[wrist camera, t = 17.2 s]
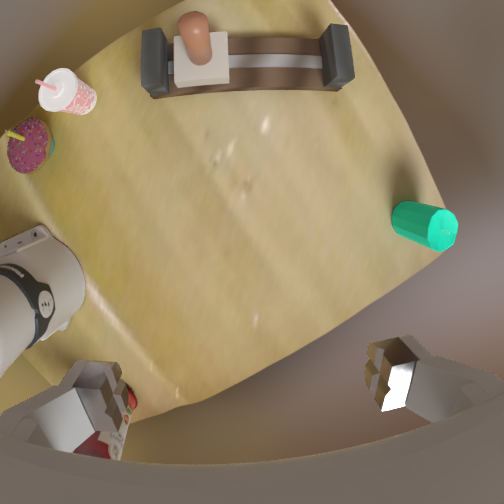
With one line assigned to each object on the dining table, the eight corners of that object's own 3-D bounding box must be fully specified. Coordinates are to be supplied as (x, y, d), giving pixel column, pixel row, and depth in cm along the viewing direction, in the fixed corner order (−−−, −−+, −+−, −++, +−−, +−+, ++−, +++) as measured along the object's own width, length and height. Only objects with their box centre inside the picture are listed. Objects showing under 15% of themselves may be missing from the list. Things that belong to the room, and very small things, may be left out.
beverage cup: (71, 125, 40) (20, 115, 26) (64, 92, 38) (15, 73, 25) (104, 109, 40) (60, 90, 26) (97, 76, 38) (54, 48, 25)
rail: (153, 99, 40) (138, 85, 32) (153, 51, 38) (140, 31, 30) (337, 91, 41) (357, 78, 34) (332, 45, 39) (349, 25, 32)
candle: (388, 233, 48) (429, 252, 36) (394, 197, 46) (438, 206, 35) (416, 238, 48) (459, 257, 37) (423, 204, 47) (468, 215, 35)
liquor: (98, 380, 51) (43, 492, 24) (131, 378, 51) (85, 501, 24) (113, 408, 53) (71, 519, 26) (145, 407, 53) (113, 526, 26)
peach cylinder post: (177, 88, 38) (157, 56, 25) (177, 44, 36) (159, 1, 23) (229, 83, 38) (229, 48, 25) (227, 39, 36) (226, -6, 24)
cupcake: (39, 113, 39) (-4, 104, 27) (73, 134, 40) (31, 127, 29) (18, 159, 40) (-28, 161, 28) (49, 182, 42) (5, 188, 30)
